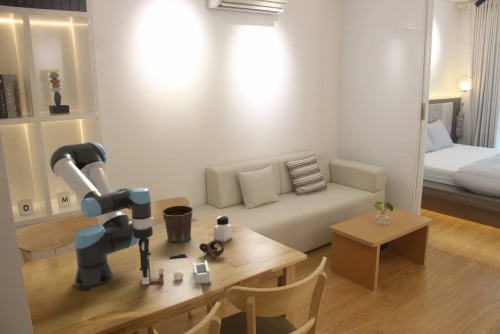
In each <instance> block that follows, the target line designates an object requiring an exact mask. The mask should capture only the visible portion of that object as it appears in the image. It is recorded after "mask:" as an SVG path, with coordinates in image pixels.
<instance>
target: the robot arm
mask: <svg viewBox="0 0 500 334" xmlns="http://www.w3.org/2000/svg"><path fill="white" fill-rule="evenodd" d="M106 162H107V153H106V151H105V148H103V146H102V145H101V144H100V143H98V142H95V141H93V142H90V141H88V142H83V143H75V144H67V145H62V146H60V147H58V148H56V149H55V150H54V151H53V153H52V155H51V156H50V159H49V166H50V168H51V171H52V173H54V175H56V177H58V178H60V179H62V180H63V181H64V182H65V184H66V185H67V186H68V187H69V189H70V190H71V191H72V192H73V193H74V195H75V196H76V197H77V198H78V199H79V200H80V210H81V212H82V214H83V216H84V217H85V218H89V219H90V218H94V217H95V218H96V217H99V216H101V218H102V220H103V221H102V224H94V225H91V224H90V225H88V226H86V227H83V228H81V229H80V230H78V231H77V232H76V233H75V235H74V247H75V254H76V262H77V264H76V265H77V268H76V272H75V276H74V285H75V288H76V289H78V290H82V291H91V290H92V288H97V287H101V286H104V285H105V284H107V283H108V282H111V280H112V279H113V277H114V272H113V271H112V268H111V266H110V264H109V263H108V262H109V261H108V258H107V257H108V256H107V255H110V254H112V253H116V252H119V251H122V250H125V249H129V248H130V247H133V246H135V245H136V244H138V249H139V250H138V251H139V257H140V268H139V271H140V272H141V280H142V285H141V286H143V284H145V285H150V284H149V270H148V260H147V256H149V257H150V256H151V255H152V253H151V252H150V250H149V249H150V248H149V247H150V239H149V238H151V237H152V236H153V233H154V232H153V220H154V218H153V217H152V203H151V202H152V201H151V200H152V199H151V194H150V189H148V188H146V187H136V188H132V189H130V188H127V187H121V188H118V189H116V190H115V191H114V190H113V188H112V186H111V184H110V181H109V179H108V177H107V173H106V172H105V167H106ZM125 209H128V210H130V212H131V218H129V216H128V214H126V213H124V212H122V210H125ZM149 264H151V263H150V259H149Z"/></svg>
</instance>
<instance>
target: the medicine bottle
mask: <svg viewBox="0 0 500 334" xmlns="http://www.w3.org/2000/svg"><path fill="white" fill-rule="evenodd" d="M232 238H233V225H232V224H229V217H228V216H226V215H220V216H217V218H216V225H215V226H213V240H216V241H220V242H224V243H225V242H226V241H228V240H231V239H232Z"/></svg>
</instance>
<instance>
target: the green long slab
mask: <svg viewBox="0 0 500 334" xmlns="http://www.w3.org/2000/svg"><path fill="white" fill-rule="evenodd" d="M192 271H193V274H194V283H195V284H200V285H201V286H208V285H211V284H212V281H211V276H210V268H209V265H208V261H207V260H204V262H200V263H196V261H193V262H192Z"/></svg>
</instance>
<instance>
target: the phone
mask: <svg viewBox="0 0 500 334" xmlns="http://www.w3.org/2000/svg"><path fill="white" fill-rule="evenodd" d="M188 258H189V257H188V256H187V255H186V253H180V254H176V255H170V256H169V258H168V260H179V259H188Z"/></svg>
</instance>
